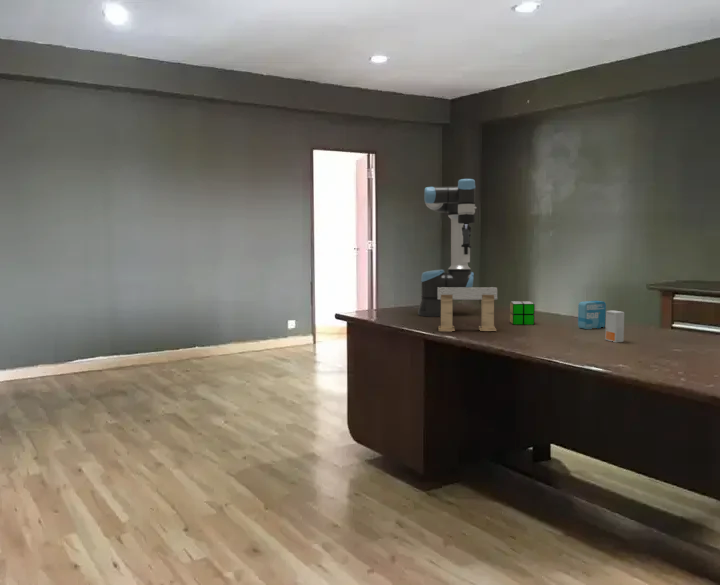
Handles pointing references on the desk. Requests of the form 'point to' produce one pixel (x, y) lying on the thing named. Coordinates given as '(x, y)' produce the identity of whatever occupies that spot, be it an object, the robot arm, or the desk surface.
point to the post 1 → (446, 313)
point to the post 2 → (487, 313)
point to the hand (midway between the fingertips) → (466, 262)
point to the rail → (467, 292)
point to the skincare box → (614, 326)
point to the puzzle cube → (522, 312)
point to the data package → (591, 314)
